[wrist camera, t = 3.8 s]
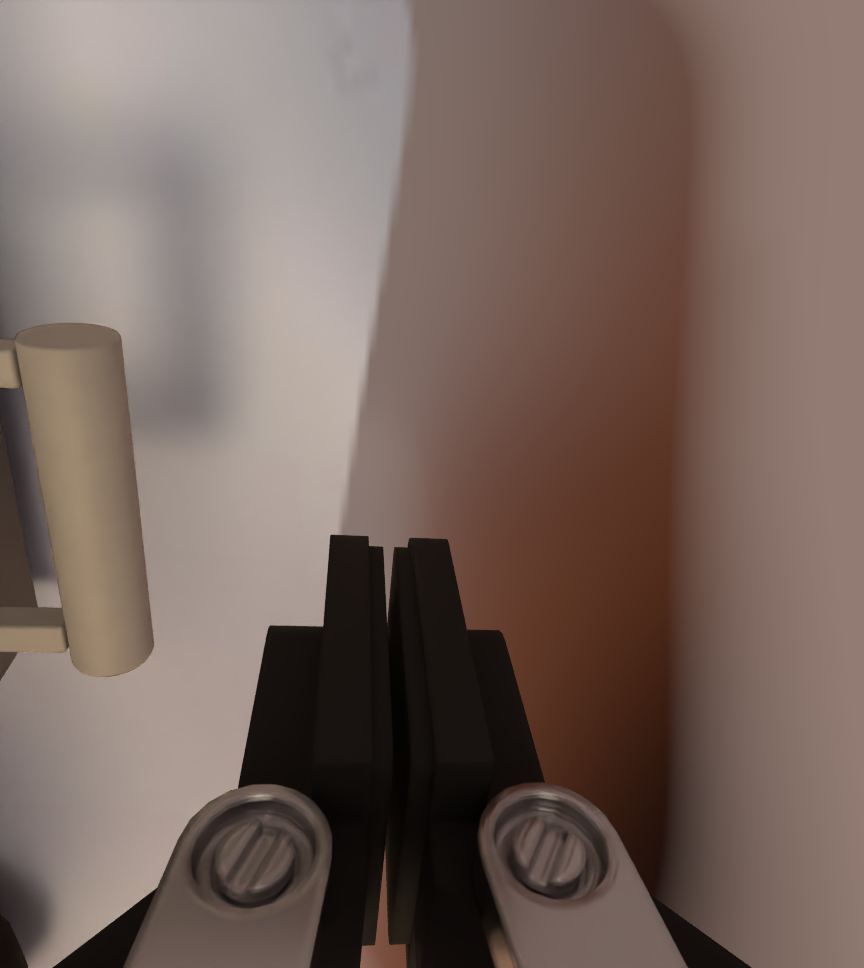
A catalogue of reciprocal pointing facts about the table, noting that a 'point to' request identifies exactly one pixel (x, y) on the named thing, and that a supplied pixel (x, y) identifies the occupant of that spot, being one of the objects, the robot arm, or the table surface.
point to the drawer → (76, 504)
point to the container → (10, 947)
